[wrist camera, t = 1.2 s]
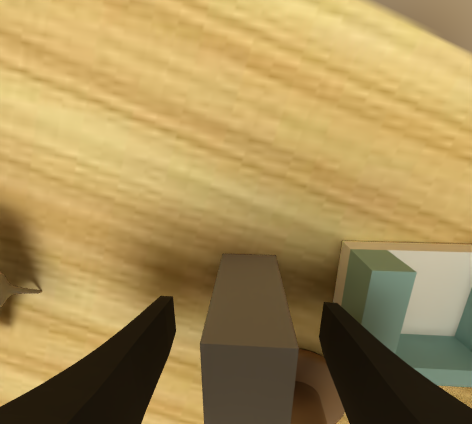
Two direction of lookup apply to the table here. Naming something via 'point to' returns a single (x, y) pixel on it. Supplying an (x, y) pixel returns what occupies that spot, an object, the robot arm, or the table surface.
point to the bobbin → (314, 392)
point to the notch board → (413, 302)
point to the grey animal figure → (11, 289)
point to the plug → (248, 345)
